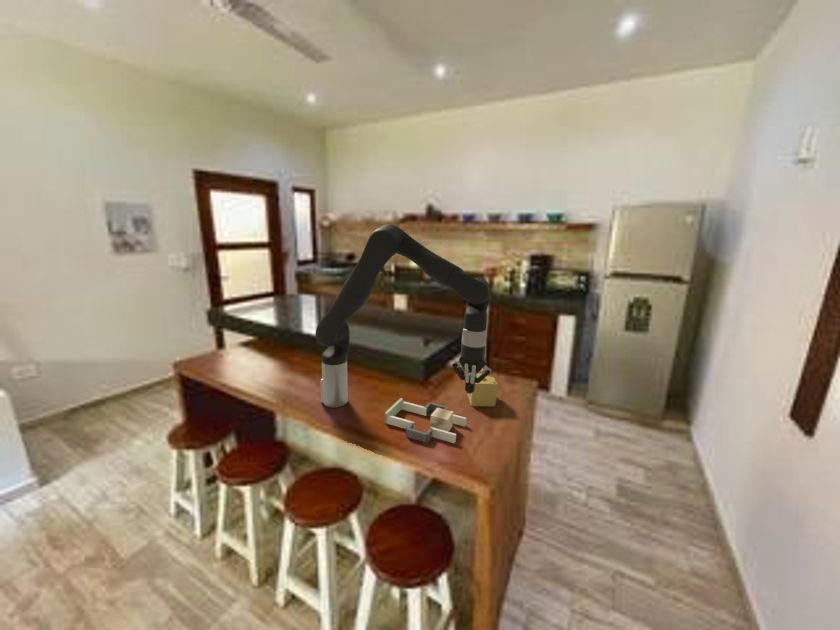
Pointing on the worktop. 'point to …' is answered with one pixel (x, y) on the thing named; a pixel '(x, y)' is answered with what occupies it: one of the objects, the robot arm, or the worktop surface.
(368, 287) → the robot arm
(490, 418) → the worktop surface
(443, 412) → the birch block
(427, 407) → the trap box
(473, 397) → the cheese
